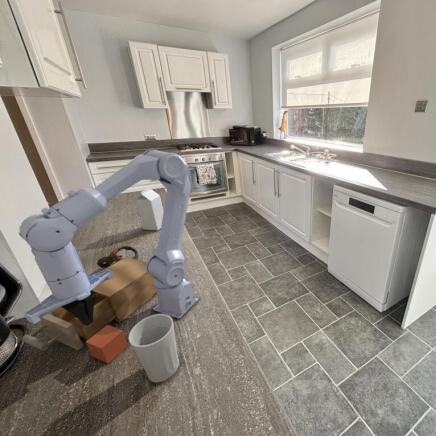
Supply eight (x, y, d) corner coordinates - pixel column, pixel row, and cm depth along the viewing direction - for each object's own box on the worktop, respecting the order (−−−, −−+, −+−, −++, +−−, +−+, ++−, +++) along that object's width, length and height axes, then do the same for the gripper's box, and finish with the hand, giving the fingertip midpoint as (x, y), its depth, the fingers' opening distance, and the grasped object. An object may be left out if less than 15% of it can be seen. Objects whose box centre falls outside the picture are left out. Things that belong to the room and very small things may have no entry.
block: (128, 345, 58) (122, 330, 56) (108, 363, 54) (101, 348, 52) (113, 339, 60) (107, 324, 58) (92, 356, 55) (85, 341, 53)
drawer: (56, 367, 52) (42, 344, 49) (24, 351, 55) (9, 328, 52) (130, 309, 68) (123, 289, 64) (101, 299, 71) (93, 279, 68)
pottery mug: (127, 256, 94) (133, 241, 91) (139, 273, 91) (145, 258, 87) (90, 264, 84) (95, 247, 80) (101, 284, 80) (107, 267, 77)
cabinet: (119, 322, 64) (110, 296, 61) (87, 310, 68) (76, 285, 64) (162, 288, 77) (156, 264, 73) (133, 279, 81) (126, 256, 77)
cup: (188, 351, 57) (179, 313, 52) (174, 386, 50) (162, 346, 45) (154, 351, 57) (142, 314, 52) (135, 386, 50) (119, 347, 45)
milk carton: (166, 224, 119) (158, 187, 111) (157, 230, 113) (148, 192, 105) (153, 223, 120) (144, 186, 112) (143, 229, 113) (133, 191, 105)
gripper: (28, 302, 40) (59, 357, 45) (114, 257, 52) (131, 305, 58) (5, 291, 42) (38, 344, 48) (93, 250, 54) (111, 296, 60)
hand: (87, 322), depth 53 cm, fingers closed
